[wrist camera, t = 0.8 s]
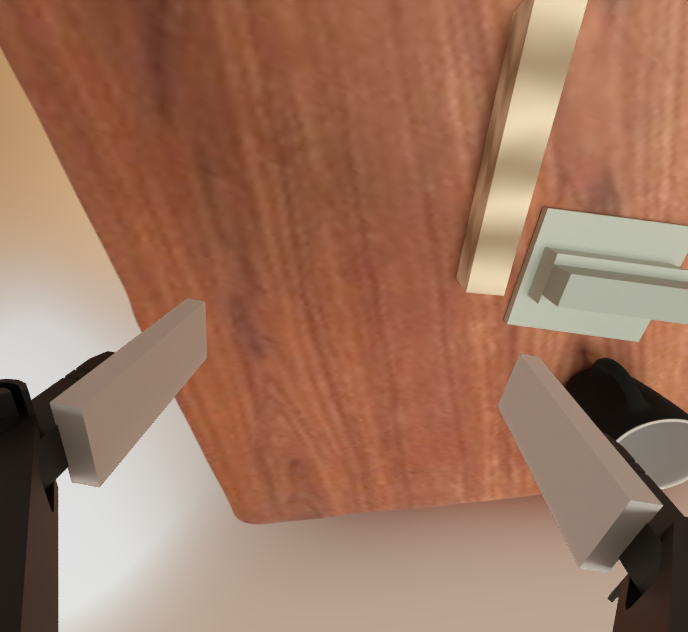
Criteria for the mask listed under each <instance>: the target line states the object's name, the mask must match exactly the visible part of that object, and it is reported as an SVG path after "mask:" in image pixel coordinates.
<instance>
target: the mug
mask: <svg viewBox="0 0 688 632" xmlns="http://www.w3.org/2000/svg"><path fill="white" fill-rule="evenodd" d="M566 390H567V391H568V393H569V394H570V395H571V396H572V397H573V399H574V400H575V401H576V402H577V403H578V405H579V406H580V407H581V408H582V409H583V411H584V412H585V413H586V414H587V415H588V416H589V418H590V419H591V420H592V421H593V422H594V424H595V425H596V426H597V427H598V428H599V430H600V431H601V432H602V433H606V434H608V435H609V436H610V437H612V438H613V439H614V440H616V441H617V442H618V443H619V444H621V445H622V446H623V447H624V448H625V449H626V450H627V451H628V452H629V454H630V455H631V456H632V457H633V458H634V459H635V463H638V464H639V465H640V466H641V467H642V469H643V470H644V471H645V474H646V475H649V477H650V478H651V479H652V480H653V481H654V482H655V483H656V485H657V486H658V487H659V488H660V489H665V488H669V487H672V486H675V485H677V484H680V483H682V482H684V481H686V480H688V414H687V413H686V412H684V411H683V410H682V409H680V408H679V407H678V406H676V405H675V404H673V403H672V402H671V401H669V400H668V399H666V398H665V397H663V396H662V395H660V394H659V393H657V392H656V391H654V390H653V389H651V388H649V387H648V386H646V385H644V384H643V383H641V382H639V381H638V380H636V379H634V378H632V377H631V376H630V375H629V374H628V372H627V371H626V370H625V369H624V368H623V367H622V366H621V365H620V364H619V363H617V362H616V361H614V360H612V359H609V358H602V359H599V360H597V361H595V362H594V364H593V367H592V369H589V370H586V371H584V372H582V373H580V374H578V375H577V376H575V377H574V378H573V379H572V380H571V381H570V382H569V383H568V385H567V387H566Z"/></svg>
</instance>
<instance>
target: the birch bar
mask: <svg viewBox="0 0 688 632" xmlns="http://www.w3.org/2000/svg"><path fill="white" fill-rule="evenodd" d="M587 1H588V0H524V1H523V2H522V3H521V5H520V6H519V7H518V8H517V9H516V10H515V11H514V13H513V18H512V22H511V27H510V32H509V36H508V41H507V45H506V50H505V55H504V59H503V64H502V68H501V73H500V78H499V82H498V87H497V91H496V96H495V101H494V105H493V110H492V115H491V119H490V124H489V128H488V133H487V138H486V142H485V147H484V151H483V156H482V161H481V165H480V170H479V175H478V179H477V184H476V188H475V193H474V198H473V202H472V207H471V211H470V216H469V221H468V225H467V230H466V234H465V239H464V244H463V248H462V253H461V258H460V262H459V267H458V271H457V276H456V279H457V280H458V282H459V283H460V284H461V286H462V287H463V289H464V290H465V291H466V292H468V293H479V294H491V295H502V296H504V293H505V290H506V286H507V283H508V279H509V276H510V272H511V269H512V265H513V262H514V258H515V255H516V251H517V247H518V244H519V240H520V237H521V233H522V230H523V226H524V223H525V219H526V216H527V212H528V209H529V205H530V202H531V198H532V195H533V191H534V188H535V184H536V181H537V177H538V174H539V170H540V167H541V163H542V160H543V156H544V152H545V149H546V145H547V142H548V138H549V135H550V131H551V128H552V124H553V121H554V117H555V114H556V110H557V107H558V103H559V100H560V96H561V93H562V89H563V86H564V82H565V79H566V75H567V72H568V68H569V65H570V61H571V57H572V54H573V50H574V47H575V43H576V40H577V36H578V33H579V29H580V26H581V22H582V19H583V15H584V12H585V8H586V5H587Z"/></svg>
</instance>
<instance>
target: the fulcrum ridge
mask: <svg viewBox="0 0 688 632" xmlns="http://www.w3.org/2000/svg"><path fill="white" fill-rule="evenodd" d="M687 253H688V226H686V225H679V224H671V223H663V222H656V221H648V220H640V219H633V218H625V217H617V216H610V215H602V214H594V213H586V212H579V211H571V210H563V209H556V208H548V207H543V209H542V211H541V214H540V217H539V220H538V223H537V226H536V229H535V232H534V234H533V237H532V240H531V243H530V246H529V249H528V252H527V254H526V257H525V260H524V263H523V266H522V269H521V272H520V275H519V277H518V280H517V283H516V286H515V289H514V292H513V295H512V298H511V300H510V303H509V306H508V309H507V312H506V315H505V318H504V321H505V322H506V323H507V324H511V325H519V326H526V327H533V328H541V329H548V330H555V331H563V332H570V333H577V334H584V335H592V336H599V337H606V338H614V339H621V340H628V341H636V342H639V340H640V338H641V337H642V335H643V333H644V331H645V329H646V327H647V326H648V324H649V322H650V320H658V321H666V322H673V323H681V324H688V282H687V280H688V269H685V268H682V267H680V266H681V264H682V262H683V260H684V258H685V256H686V255H687Z"/></svg>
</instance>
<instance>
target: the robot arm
mask: <svg viewBox="0 0 688 632" xmlns="http://www.w3.org/2000/svg"><path fill="white" fill-rule="evenodd" d="M206 358H207V345H206V310H205V301H200V300H194V299H188V298H187V299H185V300H184V301H183V302H182V303H180V304H179V305H178V306H176V307H175V308H174V309H172V310H171V311H170V312H168V313H167V314H166V315H164V316H163V317H162V318H160V319H159V320H158V321H156V322H155V323H154V324H153V325H151V326H150V327H149V328H147V329H146V330H145V331H143V332H142V333H141V334H139V335H138V336H137V337H135V338H134V339H133V340H131V341H130V342H129V343H128V344H126V345H125V346H124V347H122V348H121V349H120V350H118V351H117V352H116V353H115V352H109V351H107V352H105V353H102V354H100V355H97V356H95V357H93V358H90V359H89V360H87V361H86V362H84V363H83V364H82V365H80V366H79V367H77V369H76V370H73V371H72V372H70V373H69V374H67V375H66V376H65V378H62V379H60V380H59V381H58V382H56V383H55V384H53V385H52V386H51V387H49V388H48V389H46V390H45V391H44V392H42V393H41V394H39V395H38V396H37V397H35V398H34V399H32V400H31V398H30V394H29V391H28V388H27V386H26V383H23V382H22V381H19V380H13V379H2V380H0V632H58V486H57V483H56V478H58V476H59V475H60V474H61V473H62V472H63V471H64V470H65V469H66V468H67V467H68V470H69V473H70V478H71V481H72V483H78V484H84V485H90V486H95V487H100V486H101V485H102V484H103V483H104V481H105V480H106V479H107V478H108V477H109V475H110V474H111V473H112V472H113V471H114V469H115V468H116V467H117V466H118V465H119V463H120V462H121V461H122V460H123V458H124V457H125V456H126V455H127V453H128V452H129V451H130V450H131V449H132V448H133V446H134V445H135V444H136V443H137V442H138V440H139V439H140V438H141V437H142V435H143V434H144V433H145V432H146V431H147V429H148V428H149V427H150V426H151V425H152V423H153V422H154V421H155V420H156V419H157V417H158V416H159V415H160V414H161V413H162V411H163V410H164V409H165V408H166V406H167V405H168V404H169V403H170V402H171V400H172V399H173V398H174V397H175V396H176V394H177V393H178V392H179V391H180V390H181V388H182V387H183V386H184V385H185V384H186V382H187V381H188V380H189V379H190V377H191V376H192V375H193V374H194V373H195V371H196V370H197V369H198V368H199V367H200V365H201V364H202V363H203V362H204V361H205V359H206ZM497 407H498V409H499V410H500V412H501V414H502V416H503V418H504V420H505V422H506V424H507V426H508V428H509V430H510V432H511V434H512V436H513V438H514V440H515V442H516V444H517V446H518V448H519V450H520V452H521V454H522V456H523V458H524V460H525V462H526V464H527V466H528V468H529V470H530V472H531V474H532V476H533V478H534V480H535V482H536V484H537V486H538V487H539V489H540V491H541V493H542V495H543V497H544V499H545V501H546V503H547V505H548V507H549V509H550V511H551V513H552V515H553V517H554V519H555V521H556V523H557V525H558V527H559V529H560V531H561V533H562V535H563V537H564V539H565V541H566V543H567V545H568V547H569V549H570V551H571V553H572V555H573V556H574V559H575V560H576V562H577V564H578V566H579V568H581V569H587V570H593V571H598V572H604V573H608V572H609V571H610V569H611V568H612V567H613V566H614V565H615V563H616V562H617V561H618V560H619V559H620V561H621V563H622V564H623V566H624V568H625V569H626V571H627V572H628V574H627V576H626V577H625V578H624V579H623V580H622V581H621V582H620V584H619V585H618V586H617V587H616V588H615V589H614V590H613V592H612V593H611V594H610V595H609V597H608V599H609V600H610V601H611V602H613V601H614V600H615V599H616V598H617V597H619V600H618V604H617V610H616V616H615V621H614V627H613V632H688V517H684V516H683V514H682V513H681V512H680V511H679V510H678V509H677V508H676V506H675V505H674V504H673V503H672V502H671V501H670V499H669V498H668V497H667V496H666V495H665V494H664V493H663V491H662V490H661V489H660V488H659V487H658V486H657V485H656V483H655V482H654V481H653V480H652V479H651V478H650V477H649V475H646V474H645V471H644V470H643V469H642V467H641V466H640V465H639V464H638V463H635V459H634V458H633V457H632V456H631V455H630V454H629V452H628V451H627V450H626V449H625V448H624V447H623V446H622V445H621V444H619V443H618V442H617V441H616V440H614V439H613V438H612V437H610V436H609V435H608V434H606V433H602V432H601V431H600V430H599V428H598V427H597V426H596V425H595V424H594V422H593V421H592V420H591V419H590V418H589V416H588V415H587V414H586V413H585V412H584V411H583V409H582V408H581V407H580V406H579V405H578V403H577V402H576V401H575V400H574V399H573V397H572V396H571V395H570V394H569V393H568V391H567V390H566V389H565V388H564V387H563V386H562V384H561V383H560V382H559V381H558V380H557V378H556V377H555V376H554V375H553V374H552V372H551V371H550V370H549V369H548V368H547V366H546V365H545V364H544V363H543V362H542V360H541V359H540V358H539V357H537V356H531V355H525V354H520V355H519V357H518V359H517V362H516V364H515V366H514V369H513V371H512V373H511V376H510V378H509V380H508V383H507V385H506V387H505V390H504V392H503V394H502V396H501V399H500V401H499V403H498V406H497Z"/></svg>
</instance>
